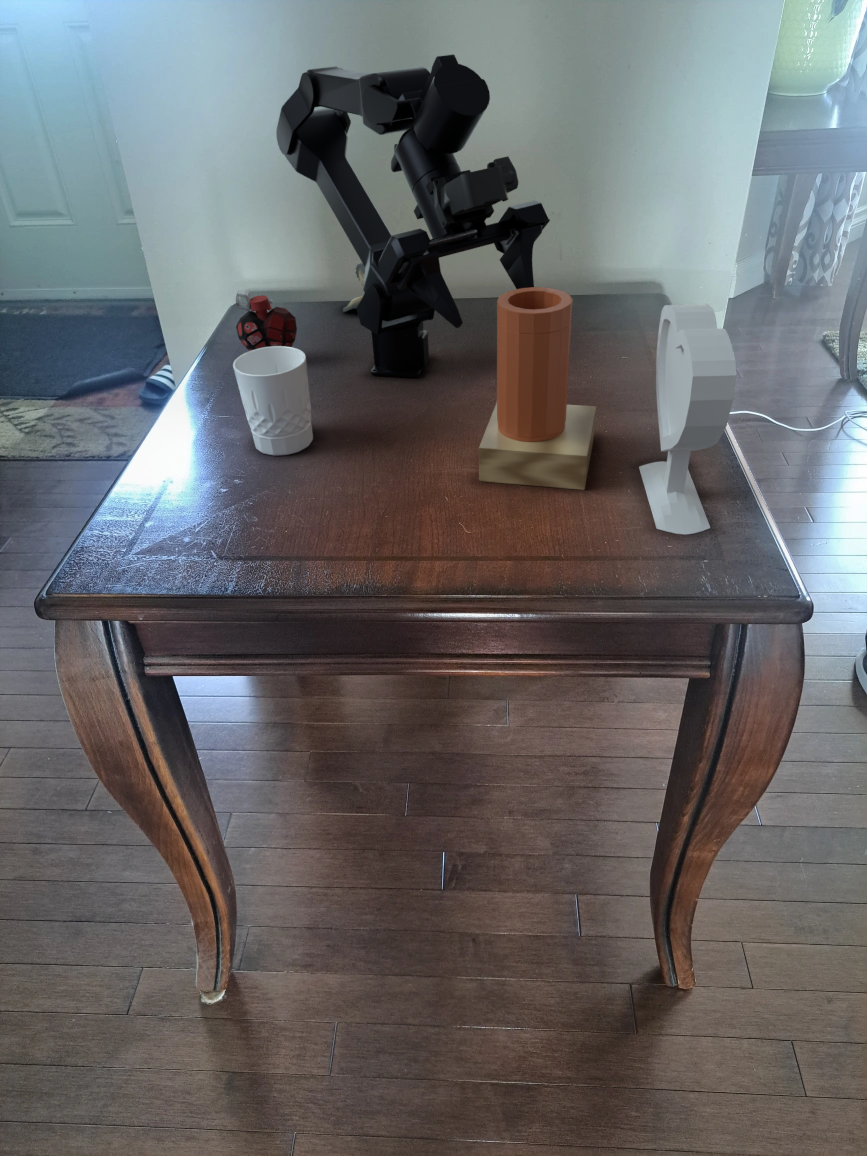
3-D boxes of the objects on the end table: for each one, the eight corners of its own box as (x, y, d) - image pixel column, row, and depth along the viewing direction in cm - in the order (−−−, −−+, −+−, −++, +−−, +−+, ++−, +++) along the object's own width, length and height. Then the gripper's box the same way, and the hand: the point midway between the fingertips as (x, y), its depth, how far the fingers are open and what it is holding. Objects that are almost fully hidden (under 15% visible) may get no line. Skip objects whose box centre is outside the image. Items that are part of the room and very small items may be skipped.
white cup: (305, 461, 92) (291, 377, 86) (239, 456, 94) (221, 374, 88) (326, 427, 98) (315, 347, 92) (264, 424, 100) (248, 344, 94)
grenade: (244, 359, 116) (229, 287, 110) (301, 353, 117) (290, 281, 110) (243, 374, 112) (228, 300, 106) (302, 367, 113) (291, 294, 106)
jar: (505, 408, 91) (506, 285, 83) (570, 413, 90) (577, 288, 81) (490, 438, 86) (490, 310, 78) (558, 445, 84) (565, 315, 76)
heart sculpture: (636, 457, 90) (655, 290, 78) (683, 456, 89) (709, 289, 78) (660, 540, 77) (687, 357, 66) (715, 540, 77) (751, 355, 66)
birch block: (479, 481, 87) (478, 447, 85) (497, 432, 96) (497, 400, 93) (584, 490, 85) (587, 455, 82) (593, 438, 93) (596, 406, 91)
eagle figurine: (410, 295, 130) (360, 279, 132) (402, 265, 123) (350, 248, 125) (389, 334, 128) (338, 317, 130) (380, 306, 121) (327, 289, 123)
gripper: (379, 148, 77) (446, 299, 77) (541, 115, 84) (604, 254, 83) (352, 217, 88) (411, 351, 87) (498, 183, 94) (554, 307, 94)
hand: (496, 314), depth 88 cm, fingers open, 9 cm apart
